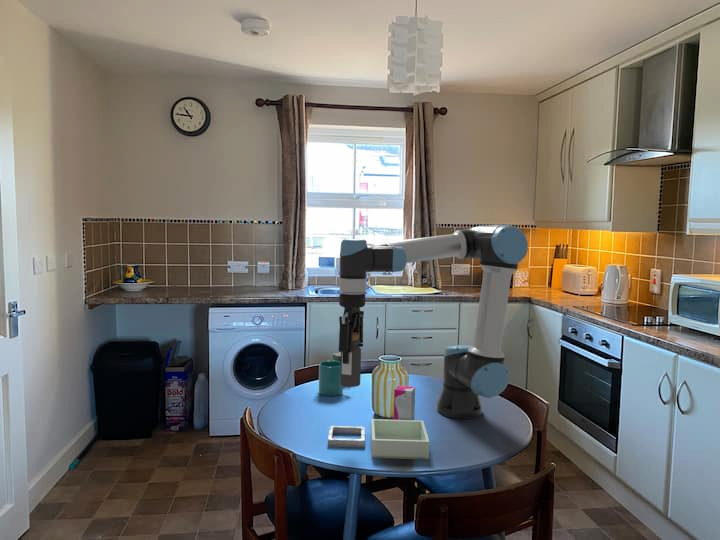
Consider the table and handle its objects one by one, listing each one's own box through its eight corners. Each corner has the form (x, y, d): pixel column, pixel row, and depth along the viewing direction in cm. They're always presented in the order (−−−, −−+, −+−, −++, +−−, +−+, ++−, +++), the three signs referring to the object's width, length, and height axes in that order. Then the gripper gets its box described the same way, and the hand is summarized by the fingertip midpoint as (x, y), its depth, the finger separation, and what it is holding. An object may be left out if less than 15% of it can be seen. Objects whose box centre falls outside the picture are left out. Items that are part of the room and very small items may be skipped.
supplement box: (414, 420, 173) (415, 386, 172) (410, 427, 168) (411, 391, 167) (397, 418, 175) (398, 384, 174) (392, 424, 169) (393, 389, 169)
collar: (364, 433, 162) (364, 426, 162) (364, 447, 151) (364, 440, 151) (330, 432, 162) (330, 425, 162) (327, 446, 151) (327, 439, 151)
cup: (348, 398, 194) (349, 368, 193) (316, 396, 196) (317, 366, 195) (351, 390, 203) (352, 361, 202) (321, 388, 204) (321, 360, 204)
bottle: (337, 386, 153) (338, 334, 152) (343, 380, 159) (344, 331, 157) (357, 388, 151) (358, 336, 150) (362, 382, 157) (363, 332, 156)
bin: (422, 436, 160) (423, 420, 160) (428, 459, 145) (429, 441, 144) (370, 435, 160) (371, 419, 160) (371, 457, 145) (372, 440, 144)
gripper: (352, 288, 163) (350, 362, 165) (327, 295, 145) (325, 378, 147) (375, 289, 160) (373, 365, 162) (352, 297, 143) (350, 381, 145)
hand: (350, 371), depth 155 cm, fingers closed on bottle, 6 cm apart
